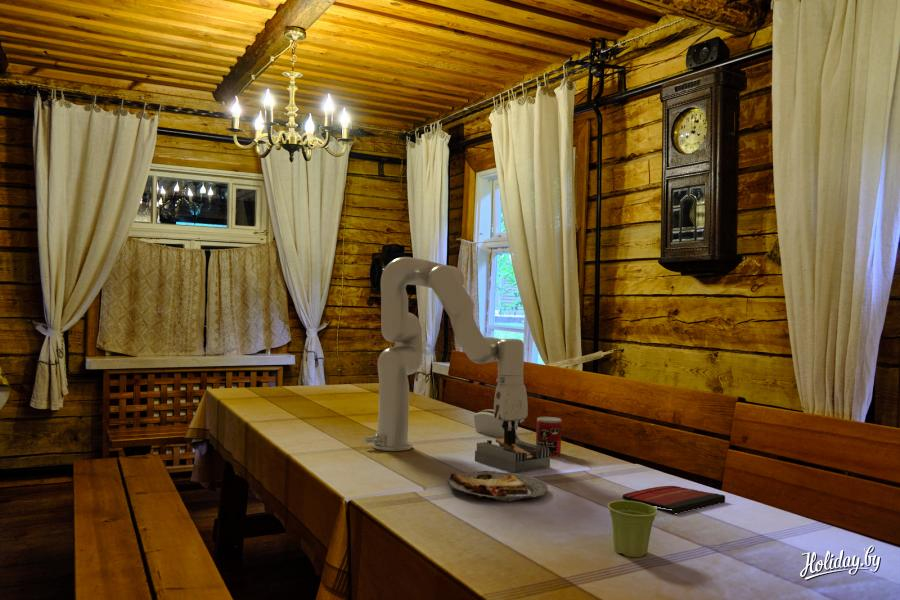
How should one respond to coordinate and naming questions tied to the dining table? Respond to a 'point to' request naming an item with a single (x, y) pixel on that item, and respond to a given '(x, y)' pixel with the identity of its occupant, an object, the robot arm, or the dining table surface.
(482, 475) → the food plate
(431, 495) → the dining table surface
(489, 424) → the white curved block
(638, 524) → the plant pot
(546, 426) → the canned food
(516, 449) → the orange brown flat bar
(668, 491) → the binder
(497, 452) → the heatsink
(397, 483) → the dining table surface
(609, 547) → the dining table surface
